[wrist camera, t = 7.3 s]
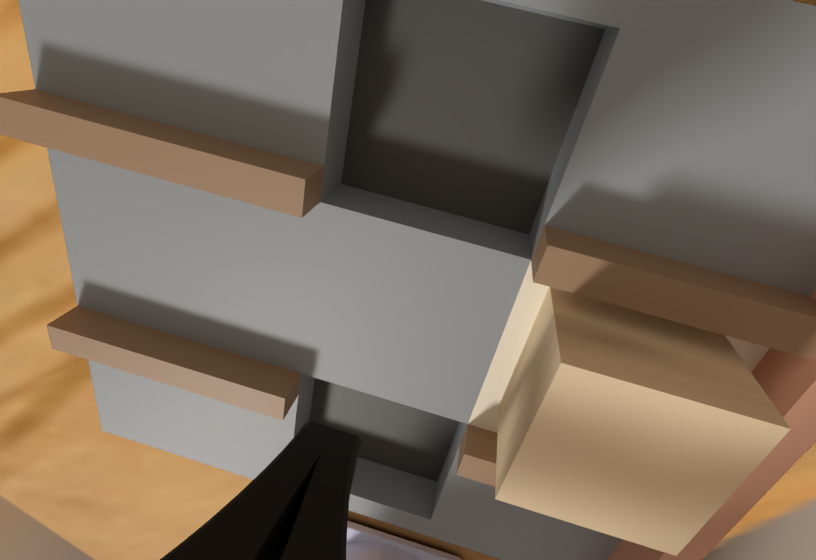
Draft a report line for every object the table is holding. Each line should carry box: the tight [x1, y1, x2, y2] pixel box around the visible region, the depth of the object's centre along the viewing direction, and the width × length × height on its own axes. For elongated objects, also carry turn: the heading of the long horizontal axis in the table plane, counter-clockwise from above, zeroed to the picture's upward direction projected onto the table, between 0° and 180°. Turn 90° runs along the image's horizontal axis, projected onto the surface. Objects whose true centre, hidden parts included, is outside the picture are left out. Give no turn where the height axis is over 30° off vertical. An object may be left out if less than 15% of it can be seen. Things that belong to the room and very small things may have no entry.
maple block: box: [495, 287, 790, 556], centre depth 14 cm, size 6×6×4 cm
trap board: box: [0, 0, 816, 560], centre depth 17 cm, size 23×26×4 cm
